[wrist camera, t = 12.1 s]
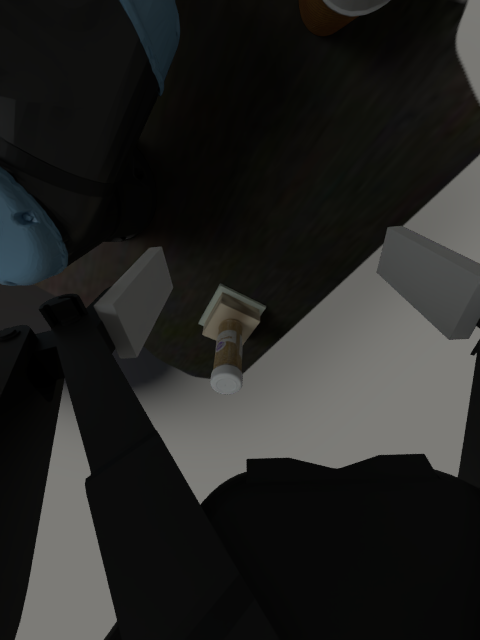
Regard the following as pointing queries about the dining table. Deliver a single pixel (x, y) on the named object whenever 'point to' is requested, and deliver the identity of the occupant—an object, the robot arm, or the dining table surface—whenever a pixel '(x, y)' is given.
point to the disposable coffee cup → (334, 13)
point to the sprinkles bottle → (228, 358)
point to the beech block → (231, 316)
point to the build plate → (234, 294)
